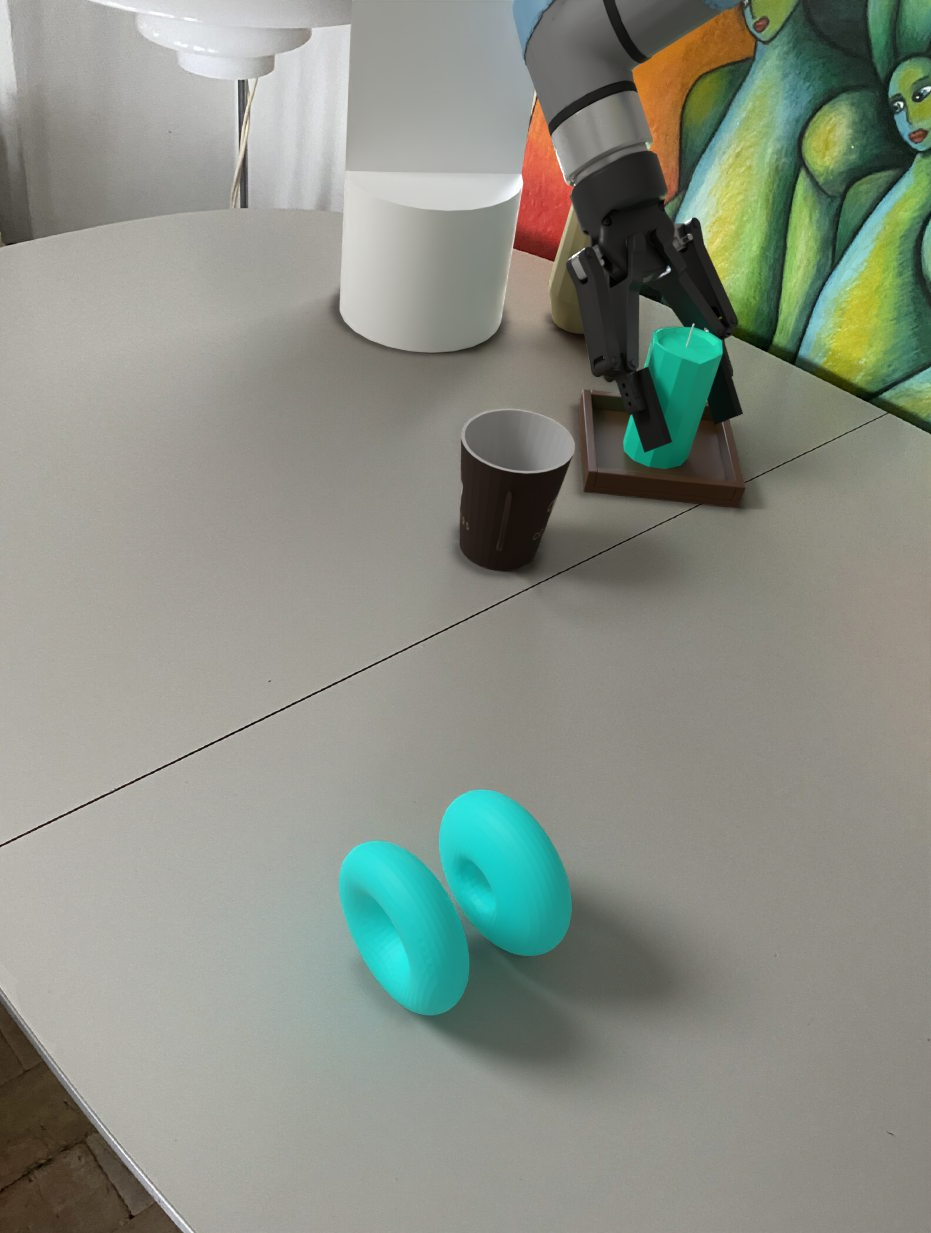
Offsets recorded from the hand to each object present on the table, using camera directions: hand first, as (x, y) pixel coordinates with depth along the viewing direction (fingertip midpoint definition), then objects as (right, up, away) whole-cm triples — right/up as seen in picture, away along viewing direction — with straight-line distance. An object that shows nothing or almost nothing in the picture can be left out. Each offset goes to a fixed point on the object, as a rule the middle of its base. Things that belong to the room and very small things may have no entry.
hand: (694, 432), depth 92 cm
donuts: (-24, -39, -30) cm, 55 cm away
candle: (-2, 0, +5) cm, 5 cm away
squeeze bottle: (-6, +18, +21) cm, 28 cm away
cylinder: (-23, +19, +20) cm, 36 cm away
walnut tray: (-2, -1, +5) cm, 5 cm away
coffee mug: (-19, -12, -6) cm, 23 cm away
